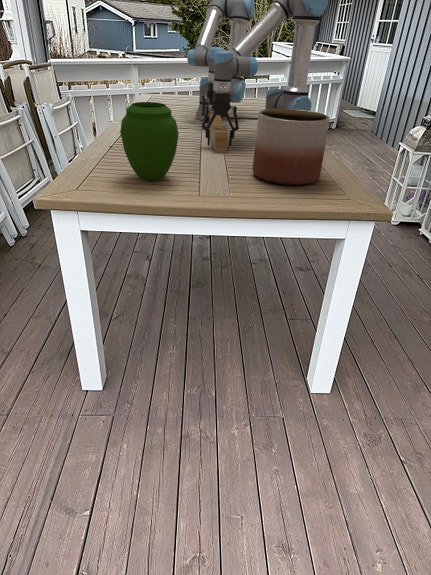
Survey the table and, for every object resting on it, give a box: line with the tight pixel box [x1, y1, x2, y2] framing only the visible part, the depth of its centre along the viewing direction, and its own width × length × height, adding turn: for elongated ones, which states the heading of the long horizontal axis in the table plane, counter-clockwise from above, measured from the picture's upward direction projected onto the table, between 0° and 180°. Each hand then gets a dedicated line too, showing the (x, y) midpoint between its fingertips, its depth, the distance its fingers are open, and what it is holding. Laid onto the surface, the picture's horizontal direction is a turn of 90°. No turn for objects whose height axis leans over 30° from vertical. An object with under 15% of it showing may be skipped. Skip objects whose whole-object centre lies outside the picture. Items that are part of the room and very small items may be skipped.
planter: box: [252, 109, 331, 186], centre depth 150 cm, size 25×25×22 cm
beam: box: [208, 111, 229, 154], centre depth 203 cm, size 54×6×9 cm, turn 4°
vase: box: [119, 101, 179, 182], centre depth 140 cm, size 20×20×24 cm
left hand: (213, 129), depth 221 cm, fingers closed on beam, 5 cm apart
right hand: (219, 145), depth 188 cm, fingers open, 9 cm apart
